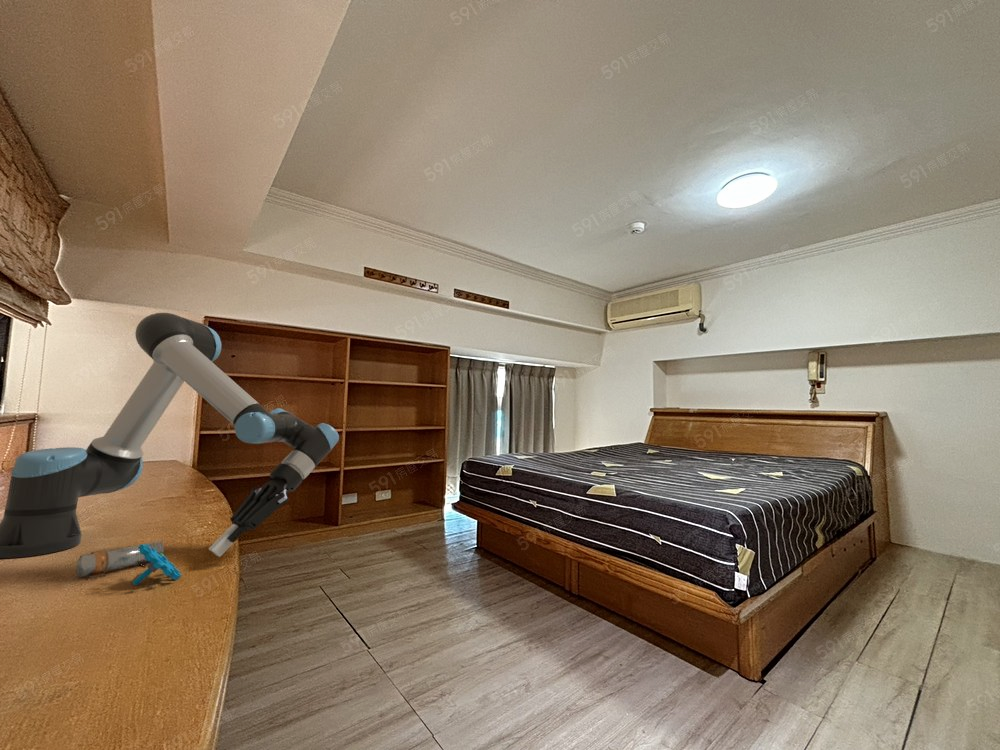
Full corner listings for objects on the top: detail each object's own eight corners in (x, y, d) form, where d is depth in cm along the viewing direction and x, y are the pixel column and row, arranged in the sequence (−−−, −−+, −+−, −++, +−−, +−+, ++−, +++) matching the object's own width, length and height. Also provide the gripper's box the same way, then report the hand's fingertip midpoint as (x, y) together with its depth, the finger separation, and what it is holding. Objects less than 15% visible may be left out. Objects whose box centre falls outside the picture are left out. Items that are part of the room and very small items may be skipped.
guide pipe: (74, 575, 81) (78, 551, 82) (153, 558, 92) (156, 538, 93) (83, 581, 79) (87, 556, 79) (162, 563, 90) (166, 541, 91)
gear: (183, 577, 79) (142, 543, 76) (151, 605, 75) (107, 571, 73) (186, 568, 87) (149, 537, 85) (157, 593, 84) (118, 562, 82)
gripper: (315, 483, 105) (241, 568, 88) (285, 478, 111) (210, 556, 95) (299, 464, 101) (218, 549, 85) (268, 460, 107) (187, 538, 91)
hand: (214, 552), depth 90 cm, fingers closed
